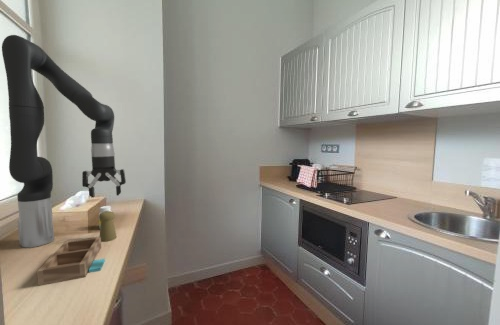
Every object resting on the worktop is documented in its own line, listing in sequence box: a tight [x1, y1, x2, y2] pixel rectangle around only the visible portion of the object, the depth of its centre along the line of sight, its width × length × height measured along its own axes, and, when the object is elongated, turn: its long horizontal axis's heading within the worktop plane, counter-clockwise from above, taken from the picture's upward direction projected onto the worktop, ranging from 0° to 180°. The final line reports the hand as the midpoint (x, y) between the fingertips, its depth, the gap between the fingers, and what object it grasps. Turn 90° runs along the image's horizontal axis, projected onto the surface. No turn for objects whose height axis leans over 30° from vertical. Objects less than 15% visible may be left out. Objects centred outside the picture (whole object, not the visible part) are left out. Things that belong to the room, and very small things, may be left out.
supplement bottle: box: [98, 205, 112, 229], centre depth 104 cm, size 5×5×10 cm
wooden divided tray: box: [36, 236, 106, 286], centre depth 73 cm, size 20×14×4 cm
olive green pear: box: [98, 210, 118, 243], centre depth 91 cm, size 6×6×11 cm
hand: (105, 196), depth 90 cm, fingers open, 8 cm apart
